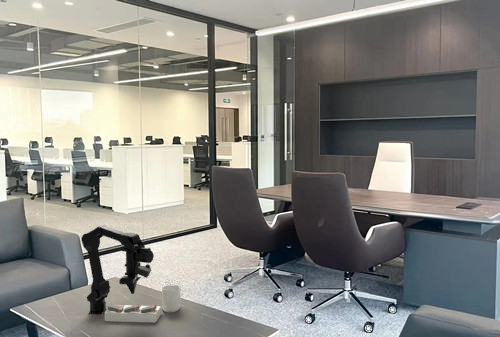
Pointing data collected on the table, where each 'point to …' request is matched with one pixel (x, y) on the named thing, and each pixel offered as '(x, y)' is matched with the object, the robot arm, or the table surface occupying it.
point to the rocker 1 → (115, 308)
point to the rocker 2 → (131, 308)
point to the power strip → (133, 315)
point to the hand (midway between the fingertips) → (132, 293)
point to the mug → (171, 298)
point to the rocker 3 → (148, 309)
